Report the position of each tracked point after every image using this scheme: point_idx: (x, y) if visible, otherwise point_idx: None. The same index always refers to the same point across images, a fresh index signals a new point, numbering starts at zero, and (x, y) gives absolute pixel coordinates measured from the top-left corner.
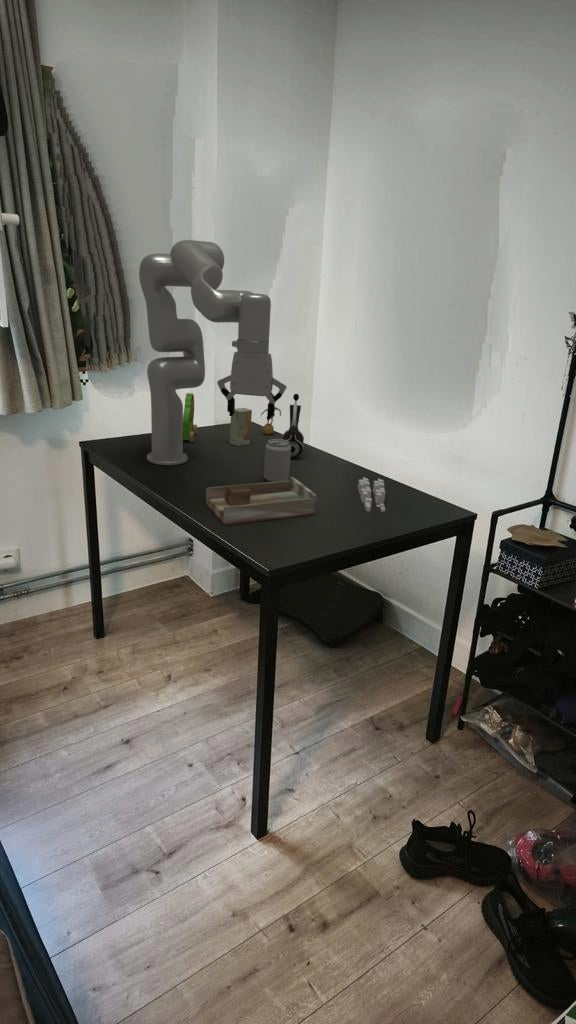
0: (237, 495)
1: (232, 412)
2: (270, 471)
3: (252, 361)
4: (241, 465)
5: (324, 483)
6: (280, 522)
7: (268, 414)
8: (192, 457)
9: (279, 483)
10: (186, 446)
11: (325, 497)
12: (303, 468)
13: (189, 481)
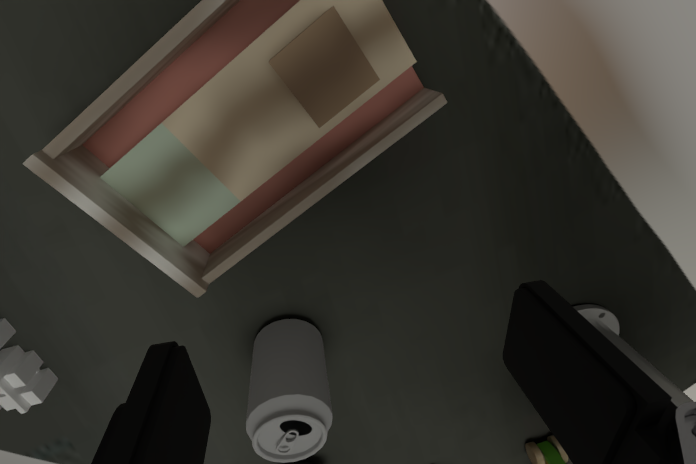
0: (312, 23)
1: (532, 313)
2: (298, 338)
3: None
4: (397, 382)
5: None
6: (142, 21)
7: (153, 379)
8: None
9: (231, 253)
10: (535, 419)
11: (109, 287)
12: None
13: (499, 239)
